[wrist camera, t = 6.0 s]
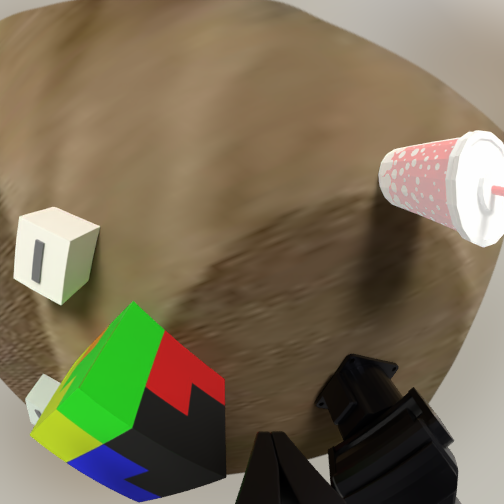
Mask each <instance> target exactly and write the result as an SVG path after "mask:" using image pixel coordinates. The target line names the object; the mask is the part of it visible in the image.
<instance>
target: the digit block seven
mask: <svg viewBox="0 0 504 504" xmlns="http://www.w3.org/2000/svg"><path fill="white" fill-rule="evenodd" d="M60 384H61V383H59V382H57V381H56V380H54V379H52V378H50V377H48V376H47V375H45V374H43V375H42V376H41V378H40V379H39V380H38V382H37V383H36V385H35V386H34V387H33V389H32V390H31V392H30V393H29V394H28V396H27V397H26V399H25V400H26V404H27V408H28V413H29V417H30V421H31V423H32V424H34V425H36V423H37V421H38V419H39V418H40V416H41V414H42V413H43V411H44V409H45V408H46V406H47V404H48V403H49V401H50V400H51V398H52V396H53V395H54V393H55V392H56V390H57V389H58V387H59V385H60Z"/></svg>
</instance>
